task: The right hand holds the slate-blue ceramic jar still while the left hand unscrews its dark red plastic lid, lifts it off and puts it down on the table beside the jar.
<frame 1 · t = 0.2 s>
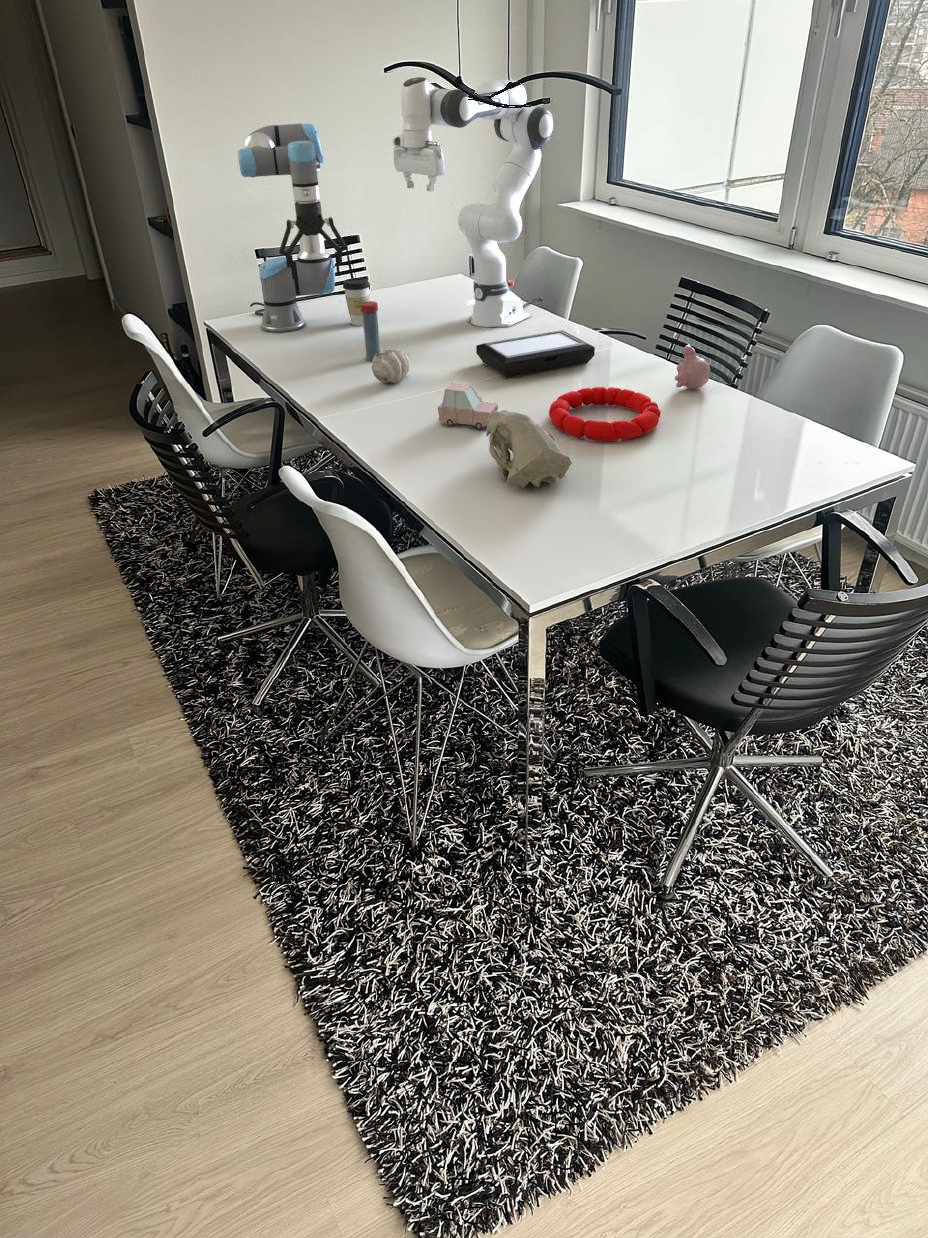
left hand: (316, 276, 273), 28 cm above the table, tool pointing down, fingers open, 13 cm apart
right hand: (420, 189, 280), 48 cm above the table, tool pointing down, fingers open, 8 cm apart
seashell: (392, 382, 274), on the table
figurine: (690, 388, 263), on the table
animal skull: (520, 470, 220), on the table
decorative ring: (603, 422, 244), on the table
toy car: (468, 423, 246), on the table
coffee cup: (360, 323, 327), on the table
electronic device: (534, 363, 285), on the table
jar: (373, 358, 294), on the table
lid: (368, 304, 284), point 18 cm above the table, screwed on, not yet turned
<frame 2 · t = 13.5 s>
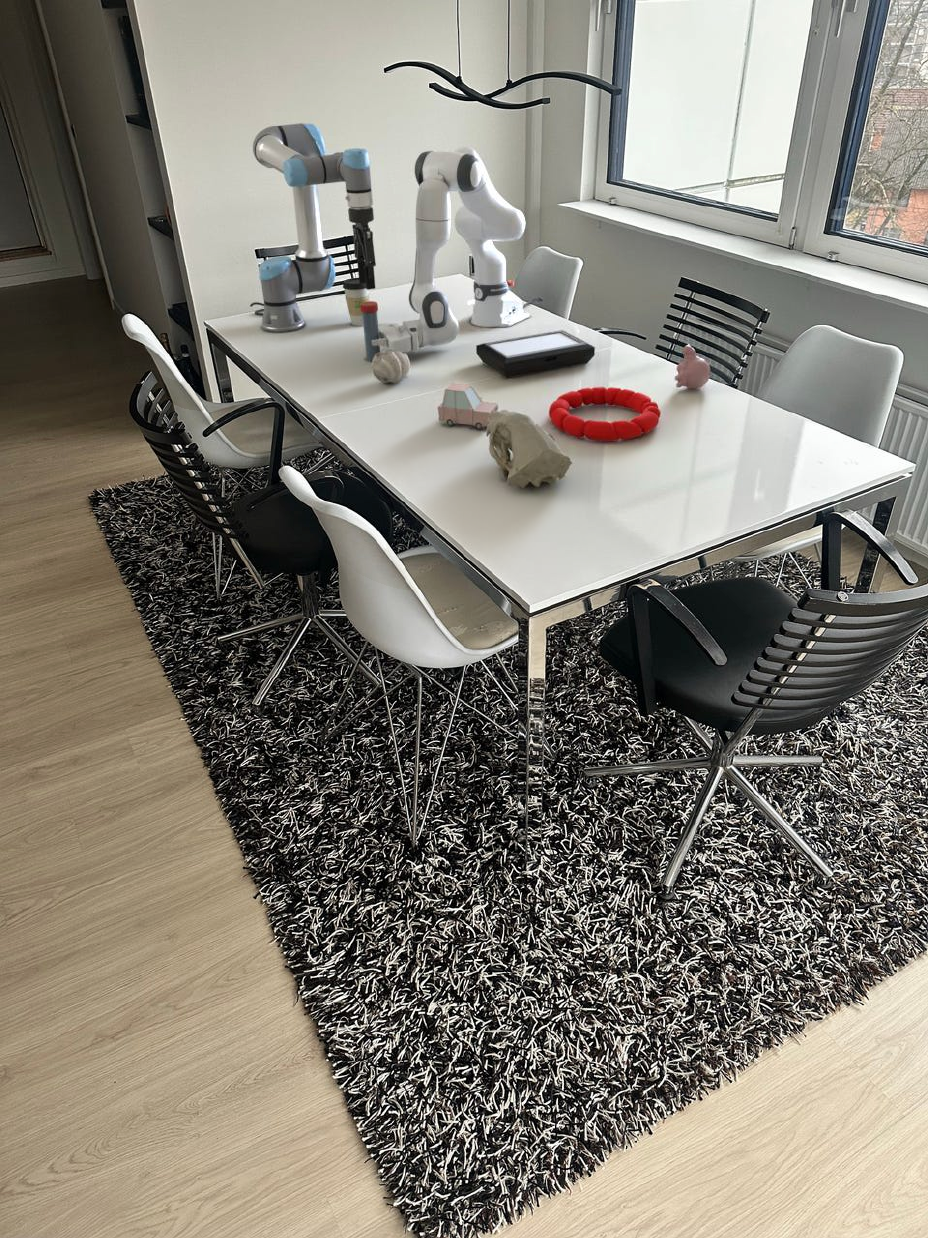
left hand: (367, 285, 280), 23 cm above the table, tool pointing down, fingers open, 7 cm apart
right hand: (369, 339, 290), 6 cm above the table, tool horizontal, fingers closed on jar, 5 cm apart
jar: (373, 358, 294), on the table, touching right hand
everything else where it was.
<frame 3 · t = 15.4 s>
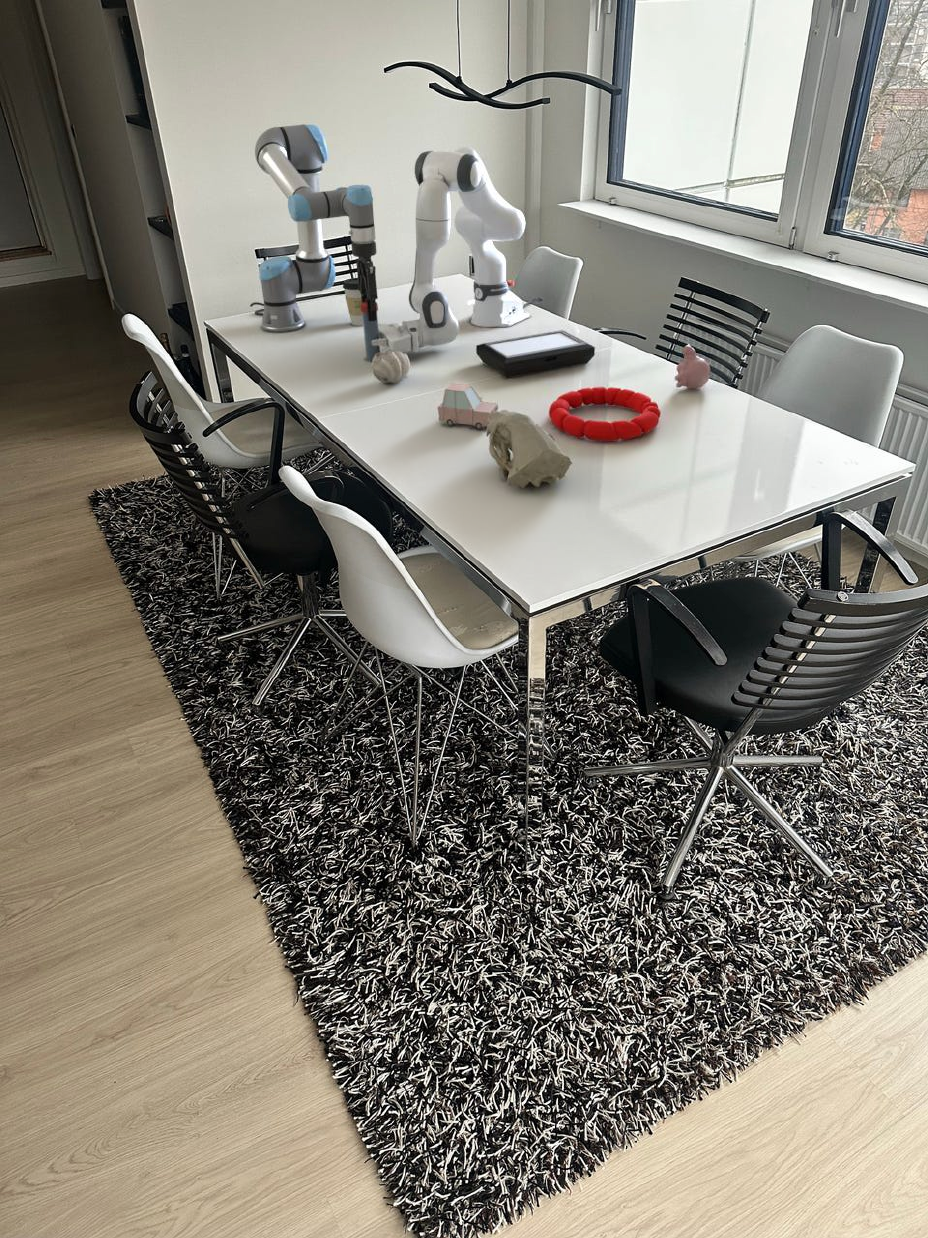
left hand: (370, 317, 286), 13 cm above the table, tool pointing down, fingers closed on lid, 5 cm apart
right hand: (369, 339, 290), 6 cm above the table, tool horizontal, fingers closed on jar, 5 cm apart
jar: (373, 358, 294), on the table, touching right hand
lid: (368, 304, 284), point 18 cm above the table, screwed on, not yet turned, touching left hand
everything else where it was.
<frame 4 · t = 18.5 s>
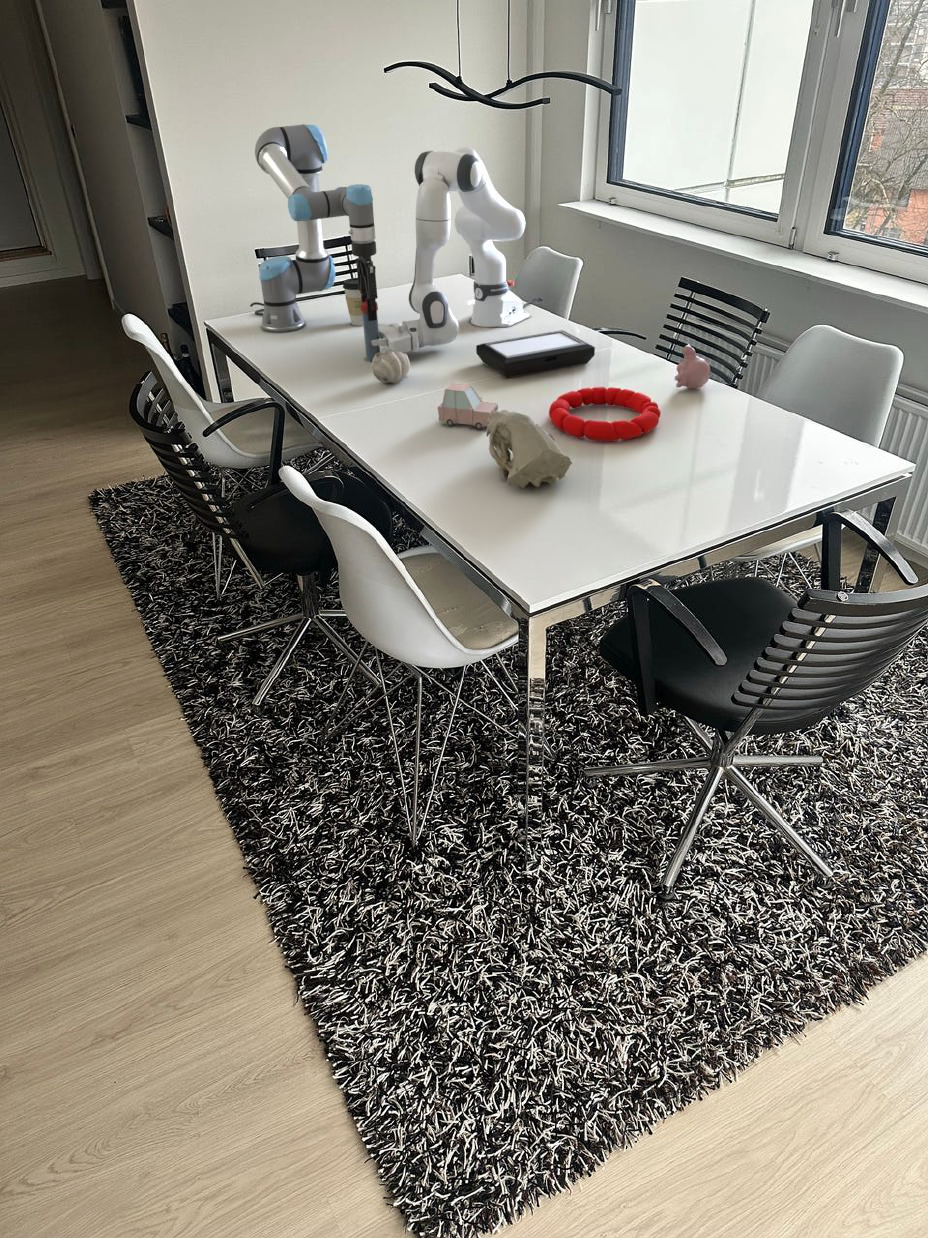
left hand: (370, 317, 286), 13 cm above the table, tool pointing down, fingers closed on lid, 5 cm apart
right hand: (369, 339, 290), 6 cm above the table, tool horizontal, fingers closed on jar, 5 cm apart
jar: (373, 358, 294), on the table, touching right hand
lid: (368, 304, 284), point 18 cm above the table, turned 96° so far, risen 0.1 cm, still on its thread, touching left hand
everything else where it was.
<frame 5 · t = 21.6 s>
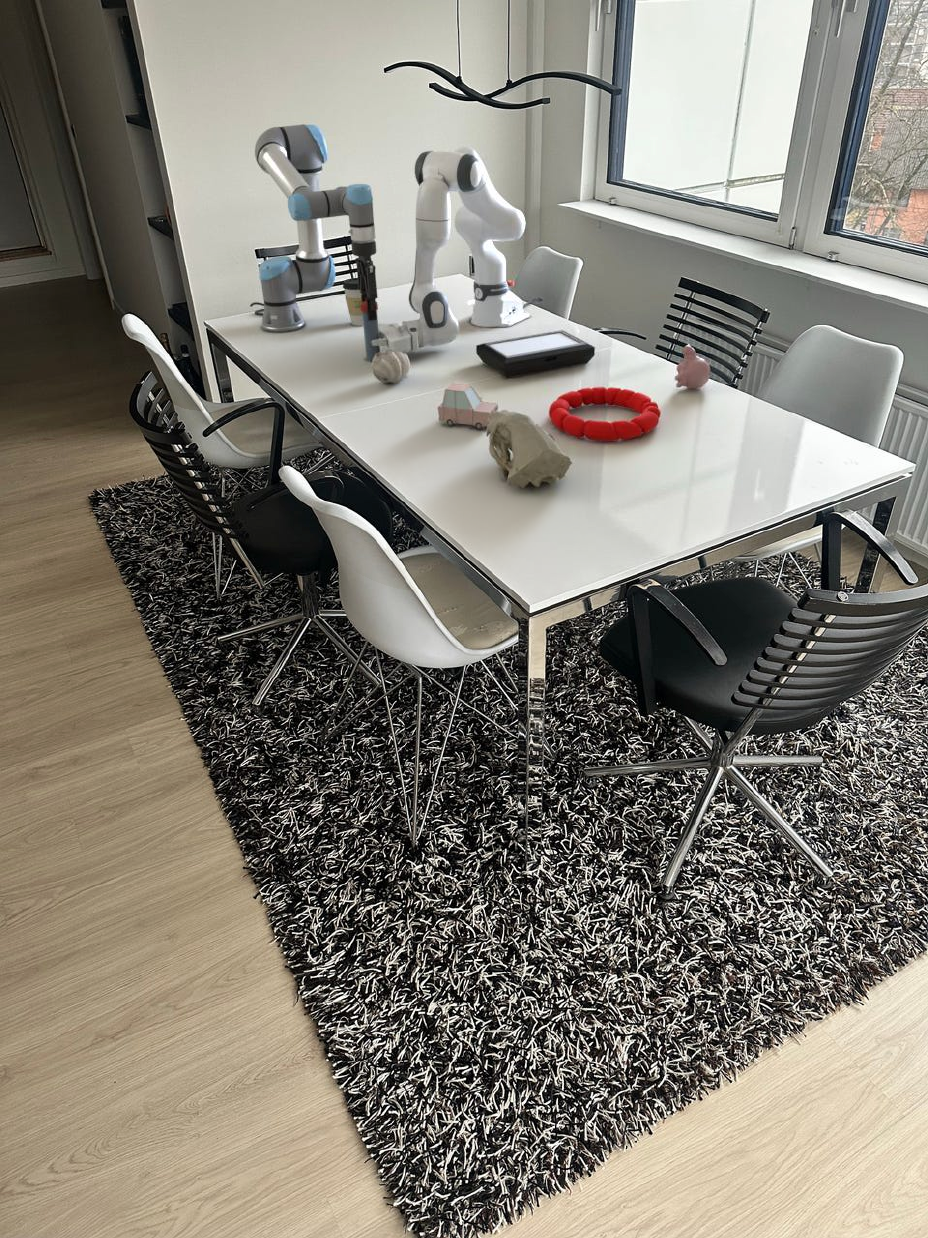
left hand: (370, 317, 286), 14 cm above the table, tool pointing down, fingers closed on lid, 5 cm apart
right hand: (369, 339, 290), 6 cm above the table, tool horizontal, fingers closed on jar, 5 cm apart
jar: (373, 358, 294), on the table, touching right hand
lid: (368, 303, 284), point 18 cm above the table, turned 192° so far, risen 0.2 cm, still on its thread, touching left hand
everything else where it was.
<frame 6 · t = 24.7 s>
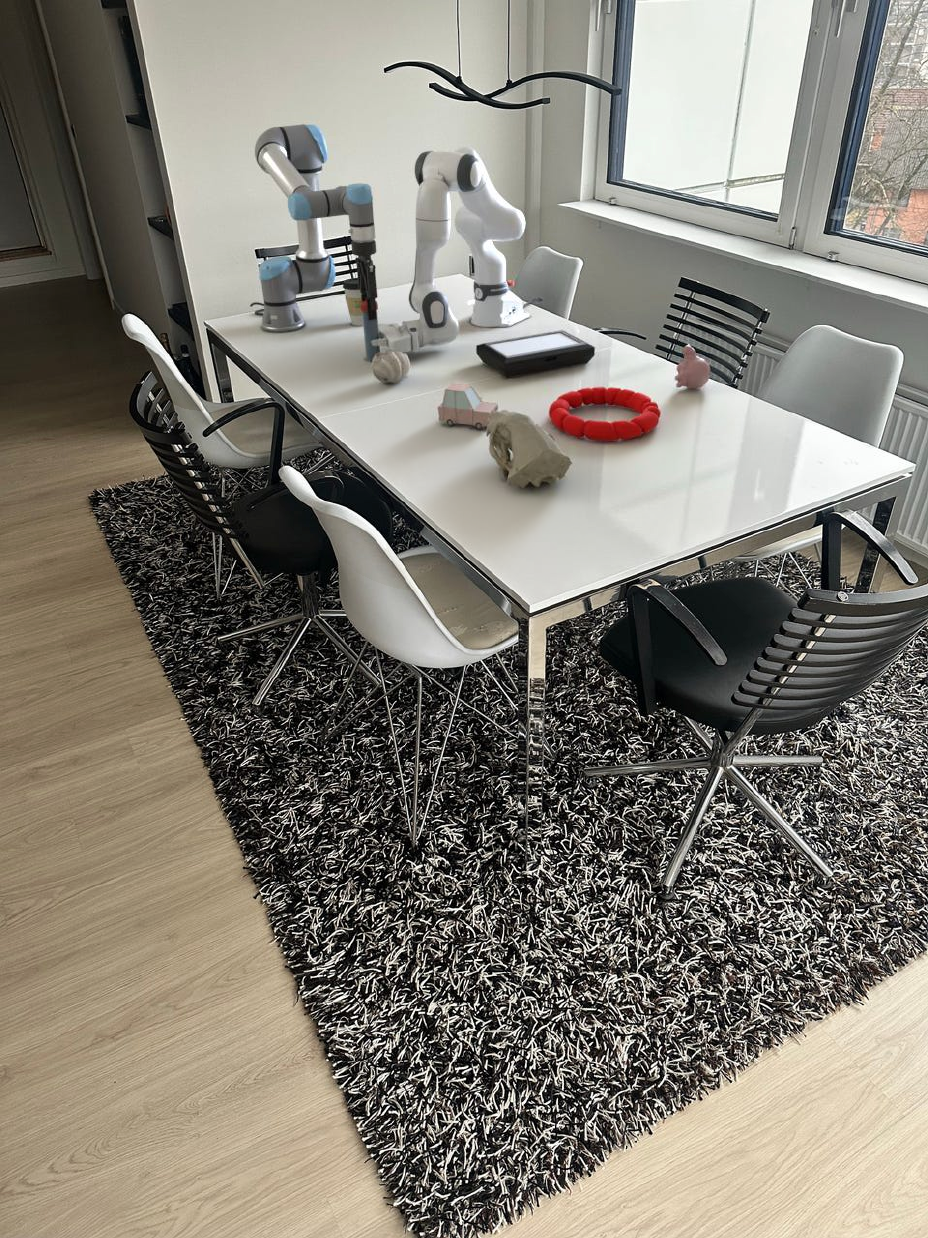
left hand: (369, 316, 286), 14 cm above the table, tool pointing down, fingers closed on lid, 5 cm apart
right hand: (369, 339, 290), 6 cm above the table, tool horizontal, fingers closed on jar, 5 cm apart
jar: (373, 358, 294), on the table, touching right hand
lid: (368, 303, 284), point 18 cm above the table, turned 288° so far, risen 0.4 cm, still on its thread, touching left hand
everything else where it was.
when the left hand's fingers open (0 cm above the table, at t = 37.5 s): lid drops 2 cm, point 2 cm above the table.
when the right hand's fingers open (6 cm above the table, at t = 38.2 s): jar stays where it is, on the table.
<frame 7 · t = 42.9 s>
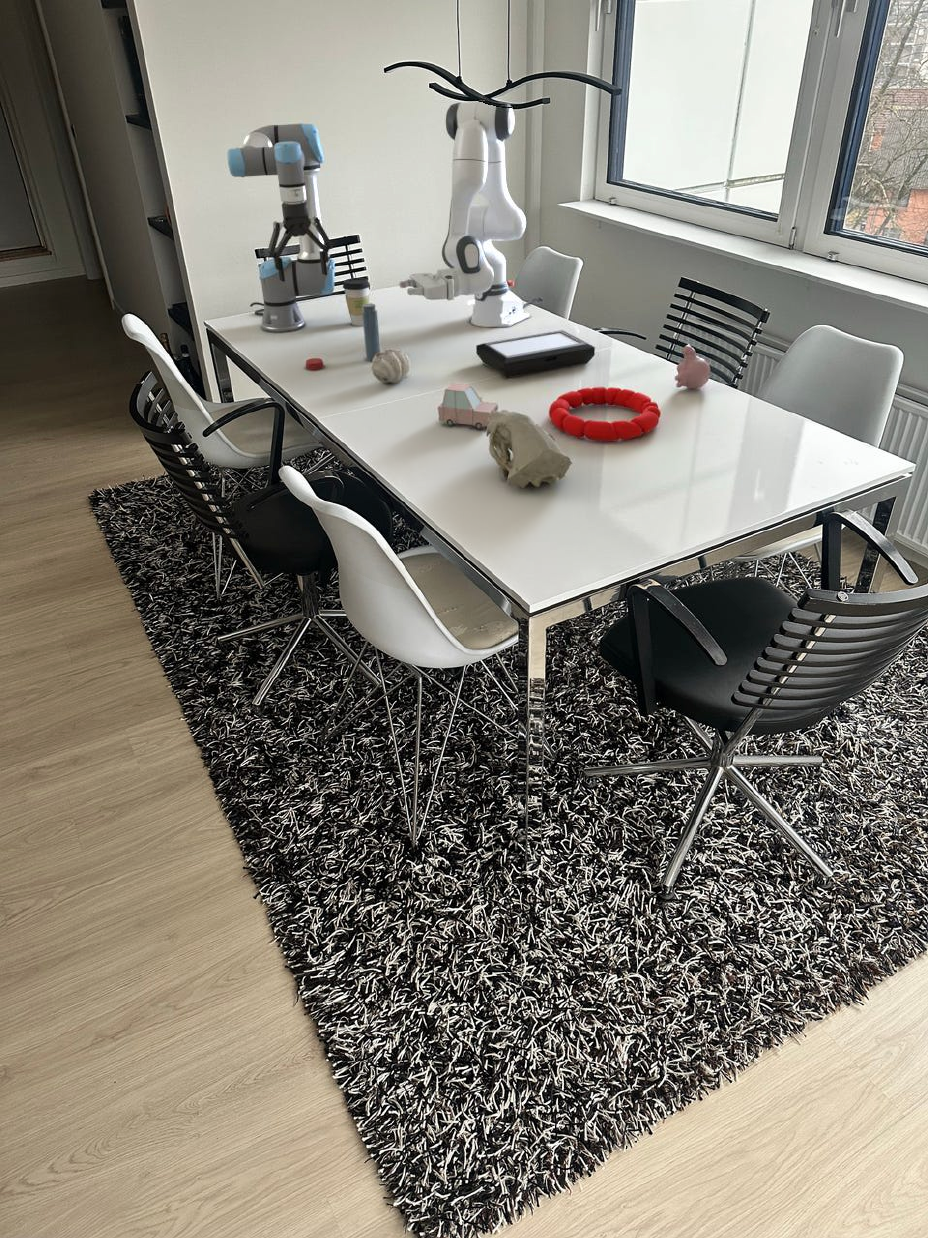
left hand: (303, 277, 272), 28 cm above the table, tool pointing down, fingers open, 13 cm apart
right hand: (403, 288, 285), 21 cm above the table, tool horizontal, fingers open, 8 cm apart
jar: (373, 358, 294), on the table
lid: (314, 361, 287), point 2 cm above the table, off its thread
everything else where it was.
at the end: lid came off its thread; lid point 1.9 cm above the table; the left hand is holding nothing; the right hand is holding nothing; jar tilted 0°; jar moved 0.0 cm from its start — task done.
